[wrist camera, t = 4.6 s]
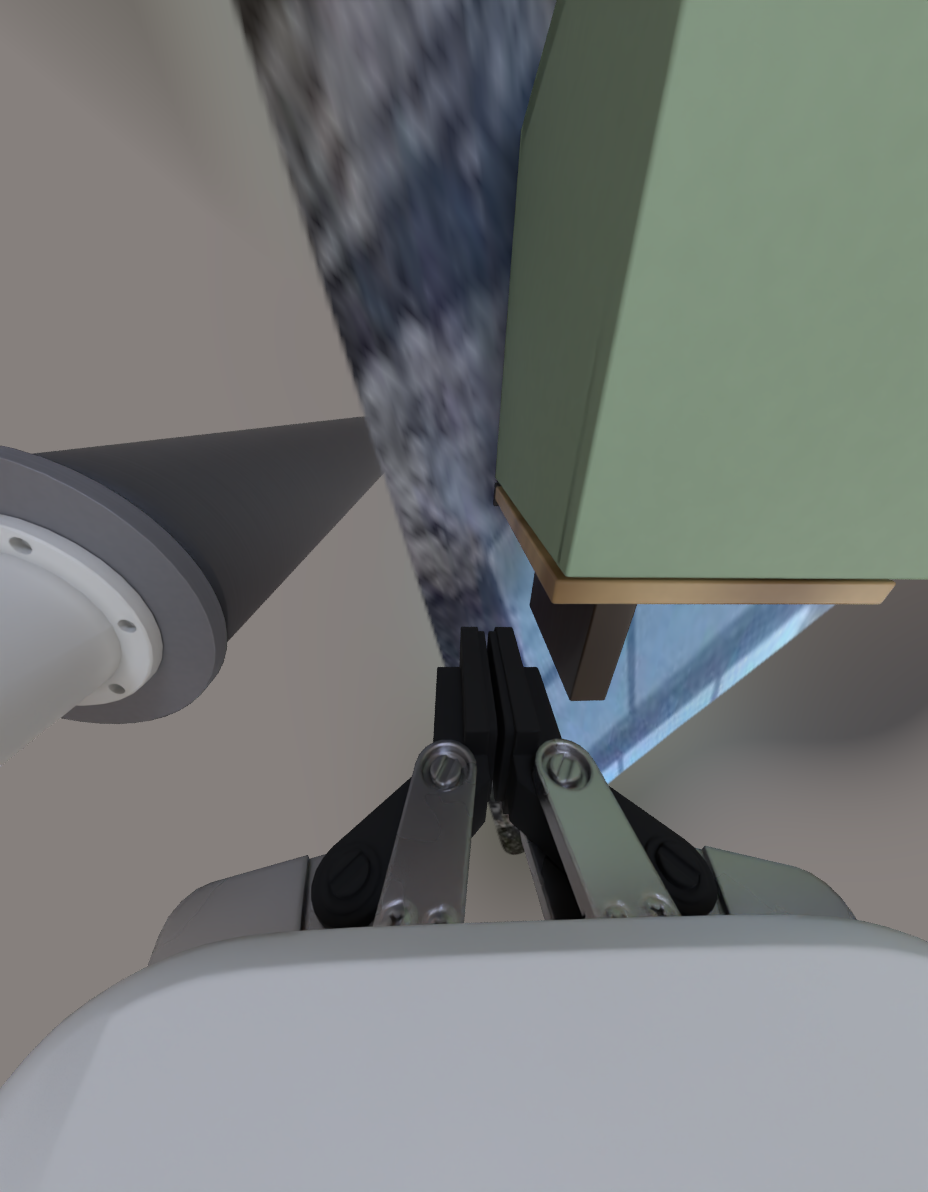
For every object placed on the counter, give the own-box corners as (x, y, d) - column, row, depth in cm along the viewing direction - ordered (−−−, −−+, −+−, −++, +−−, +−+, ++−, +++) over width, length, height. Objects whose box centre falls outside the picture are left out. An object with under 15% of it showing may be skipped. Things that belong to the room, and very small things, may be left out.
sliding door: (489, 566, 20) (530, 714, 10) (495, 486, 18) (556, 580, 8) (634, 568, 20) (801, 709, 11) (659, 489, 18) (899, 582, 8)
